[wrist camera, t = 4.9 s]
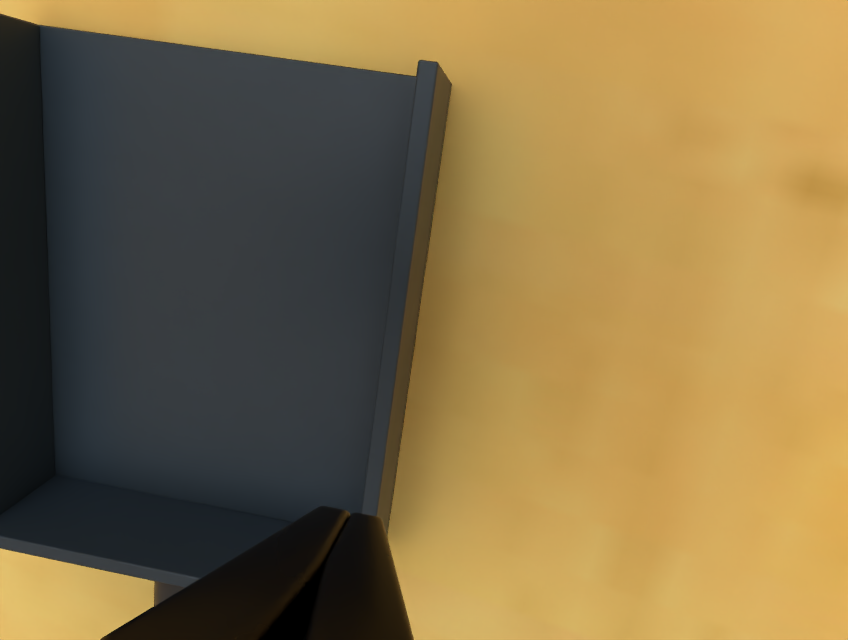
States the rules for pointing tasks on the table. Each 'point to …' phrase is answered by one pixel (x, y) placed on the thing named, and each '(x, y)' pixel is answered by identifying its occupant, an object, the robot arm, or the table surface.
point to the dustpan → (202, 293)
